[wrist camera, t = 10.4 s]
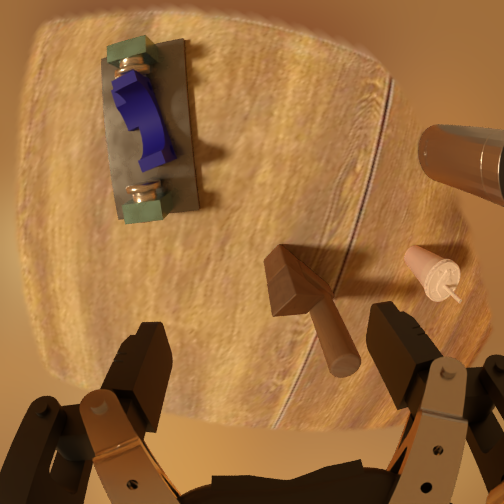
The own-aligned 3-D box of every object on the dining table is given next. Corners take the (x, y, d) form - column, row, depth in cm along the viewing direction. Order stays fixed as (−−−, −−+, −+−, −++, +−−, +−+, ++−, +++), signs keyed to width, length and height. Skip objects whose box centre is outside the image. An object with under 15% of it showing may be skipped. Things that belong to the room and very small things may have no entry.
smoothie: (394, 274, 44) (437, 321, 31) (400, 237, 42) (451, 277, 29) (424, 272, 44) (469, 315, 31) (431, 237, 42) (483, 273, 29)
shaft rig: (184, 40, 30) (174, 23, 24) (199, 208, 39) (192, 222, 33) (103, 60, 30) (82, 50, 24) (120, 218, 39) (101, 232, 33)
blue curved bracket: (119, 93, 32) (100, 87, 26) (149, 78, 31) (133, 69, 26) (147, 171, 36) (131, 177, 31) (177, 158, 36) (165, 162, 30)
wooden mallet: (279, 242, 42) (302, 314, 25) (329, 284, 44) (369, 363, 28) (262, 260, 42) (274, 340, 26) (312, 300, 45) (344, 383, 29)
